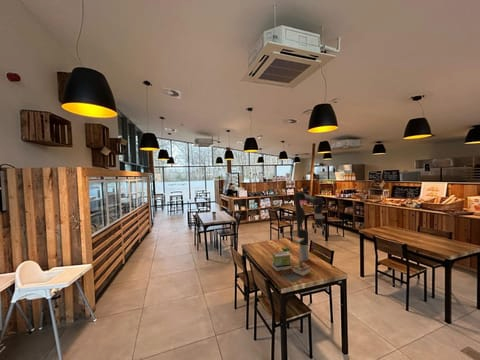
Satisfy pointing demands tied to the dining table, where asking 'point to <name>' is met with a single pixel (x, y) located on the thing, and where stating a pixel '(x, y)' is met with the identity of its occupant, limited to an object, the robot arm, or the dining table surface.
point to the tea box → (281, 261)
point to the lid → (301, 266)
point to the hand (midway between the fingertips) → (319, 233)
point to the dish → (301, 271)
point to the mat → (291, 277)
